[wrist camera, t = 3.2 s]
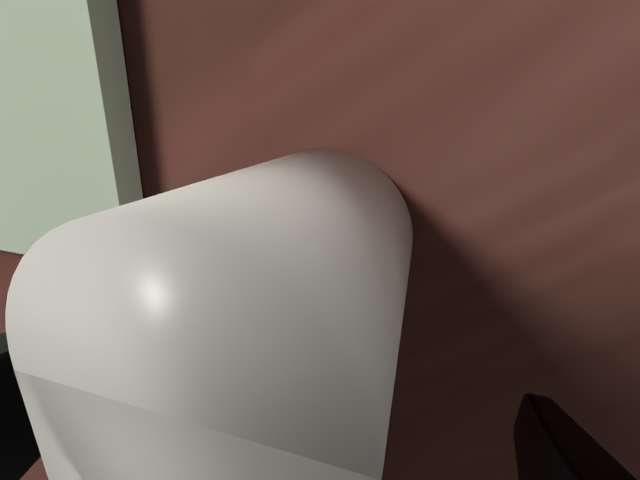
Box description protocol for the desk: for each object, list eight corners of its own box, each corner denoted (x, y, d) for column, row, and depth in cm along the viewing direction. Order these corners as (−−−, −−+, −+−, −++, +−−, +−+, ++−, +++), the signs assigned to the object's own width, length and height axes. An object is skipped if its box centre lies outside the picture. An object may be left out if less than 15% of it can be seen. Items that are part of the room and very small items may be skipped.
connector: (372, 527, 11) (326, 862, 6) (255, 488, 12) (134, 749, 7) (425, 155, 7) (415, 251, 2) (244, 142, 8) (-44, 188, 3)
